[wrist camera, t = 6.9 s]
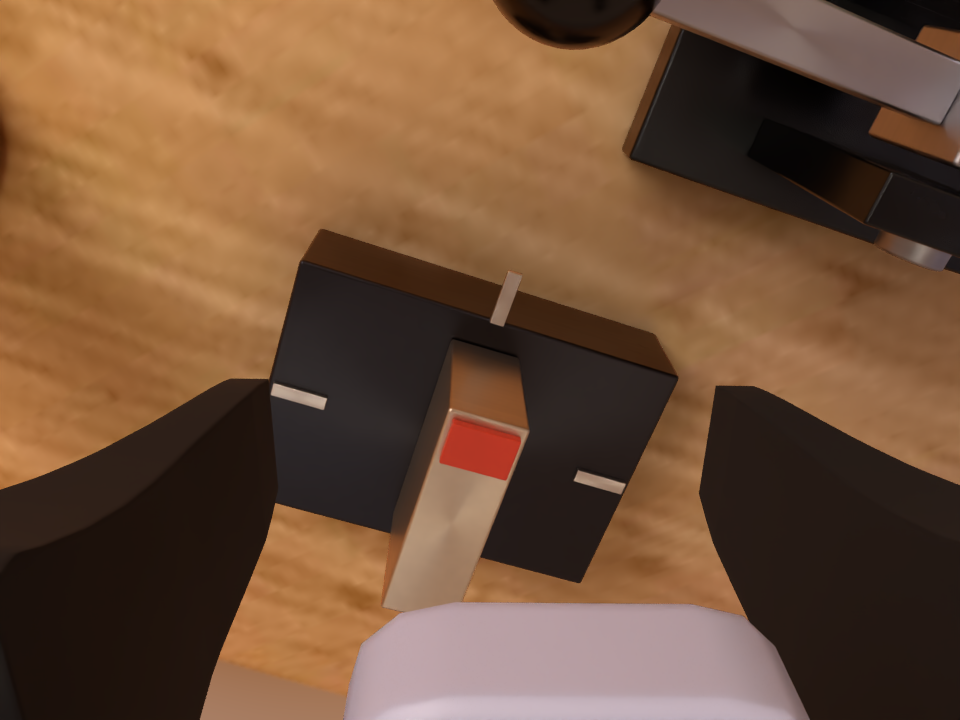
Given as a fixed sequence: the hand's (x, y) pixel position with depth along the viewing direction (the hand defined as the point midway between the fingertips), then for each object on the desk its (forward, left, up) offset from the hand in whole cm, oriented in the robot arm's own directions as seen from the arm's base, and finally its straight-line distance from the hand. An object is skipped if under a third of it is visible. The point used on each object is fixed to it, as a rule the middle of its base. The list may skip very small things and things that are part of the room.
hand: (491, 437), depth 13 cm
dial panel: (-1, +4, -10) cm, 11 cm away
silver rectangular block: (-1, +4, -7) cm, 8 cm away
